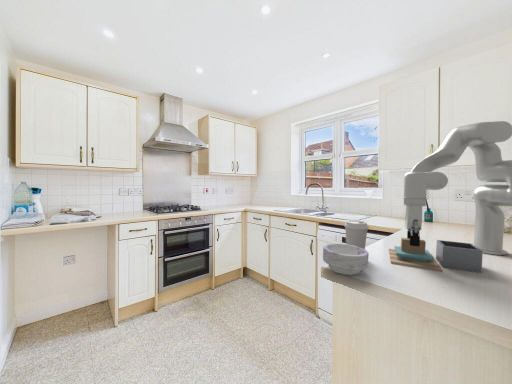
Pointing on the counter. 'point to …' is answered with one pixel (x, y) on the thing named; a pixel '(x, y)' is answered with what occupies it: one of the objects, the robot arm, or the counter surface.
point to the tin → (459, 256)
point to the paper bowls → (345, 258)
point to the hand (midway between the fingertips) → (412, 242)
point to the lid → (413, 251)
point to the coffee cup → (356, 233)
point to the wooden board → (413, 262)
